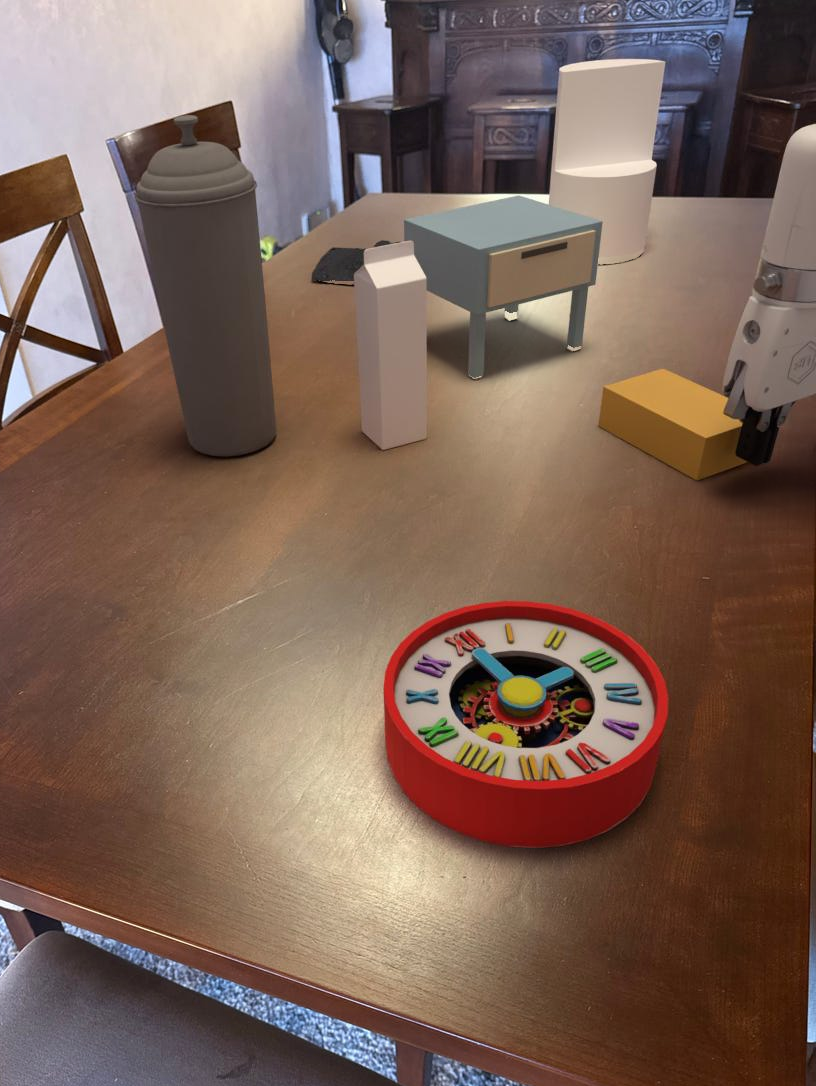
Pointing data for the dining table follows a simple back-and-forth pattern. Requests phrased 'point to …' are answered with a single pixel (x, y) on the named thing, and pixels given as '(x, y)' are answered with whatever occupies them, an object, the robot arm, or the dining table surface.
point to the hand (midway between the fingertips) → (751, 458)
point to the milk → (392, 345)
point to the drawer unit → (506, 260)
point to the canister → (210, 291)
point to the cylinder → (607, 147)
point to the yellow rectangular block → (673, 422)
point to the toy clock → (523, 722)
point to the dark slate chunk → (341, 263)
